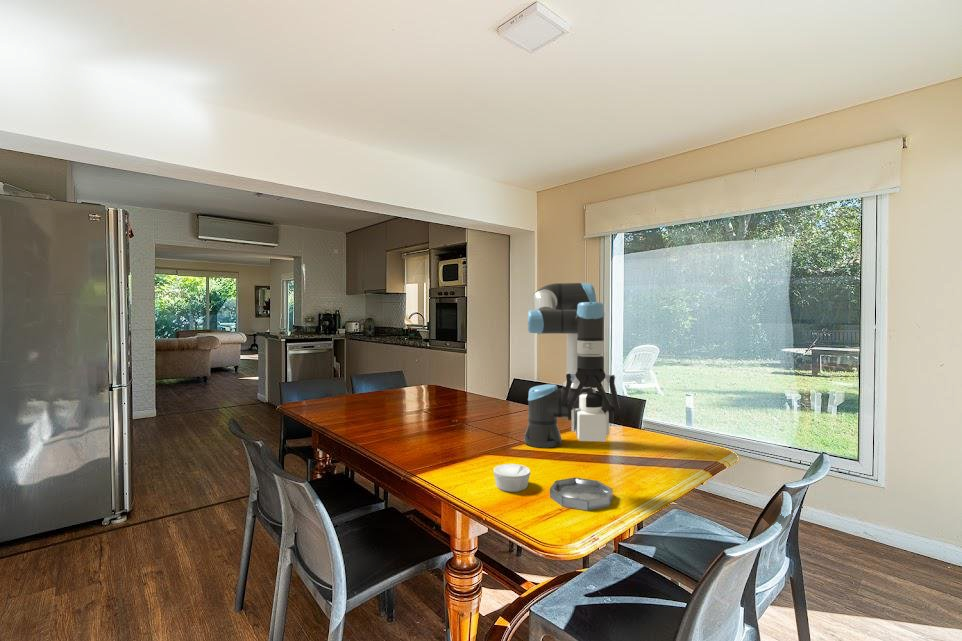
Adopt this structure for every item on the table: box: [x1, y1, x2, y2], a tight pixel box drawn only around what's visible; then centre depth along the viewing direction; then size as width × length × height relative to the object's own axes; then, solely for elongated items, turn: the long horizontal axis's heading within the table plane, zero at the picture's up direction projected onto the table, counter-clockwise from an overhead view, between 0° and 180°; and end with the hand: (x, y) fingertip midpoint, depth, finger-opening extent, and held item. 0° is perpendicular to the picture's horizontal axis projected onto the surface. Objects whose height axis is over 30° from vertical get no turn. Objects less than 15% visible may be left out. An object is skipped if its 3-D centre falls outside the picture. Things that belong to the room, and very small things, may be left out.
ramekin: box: [493, 463, 531, 493], centre depth 138 cm, size 11×11×5 cm
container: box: [575, 392, 607, 442], centre depth 132 cm, size 8×8×13 cm
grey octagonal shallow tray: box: [549, 477, 614, 511], centre depth 130 cm, size 17×17×2 cm
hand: (590, 432), depth 132 cm, fingers closed on container, 9 cm apart
